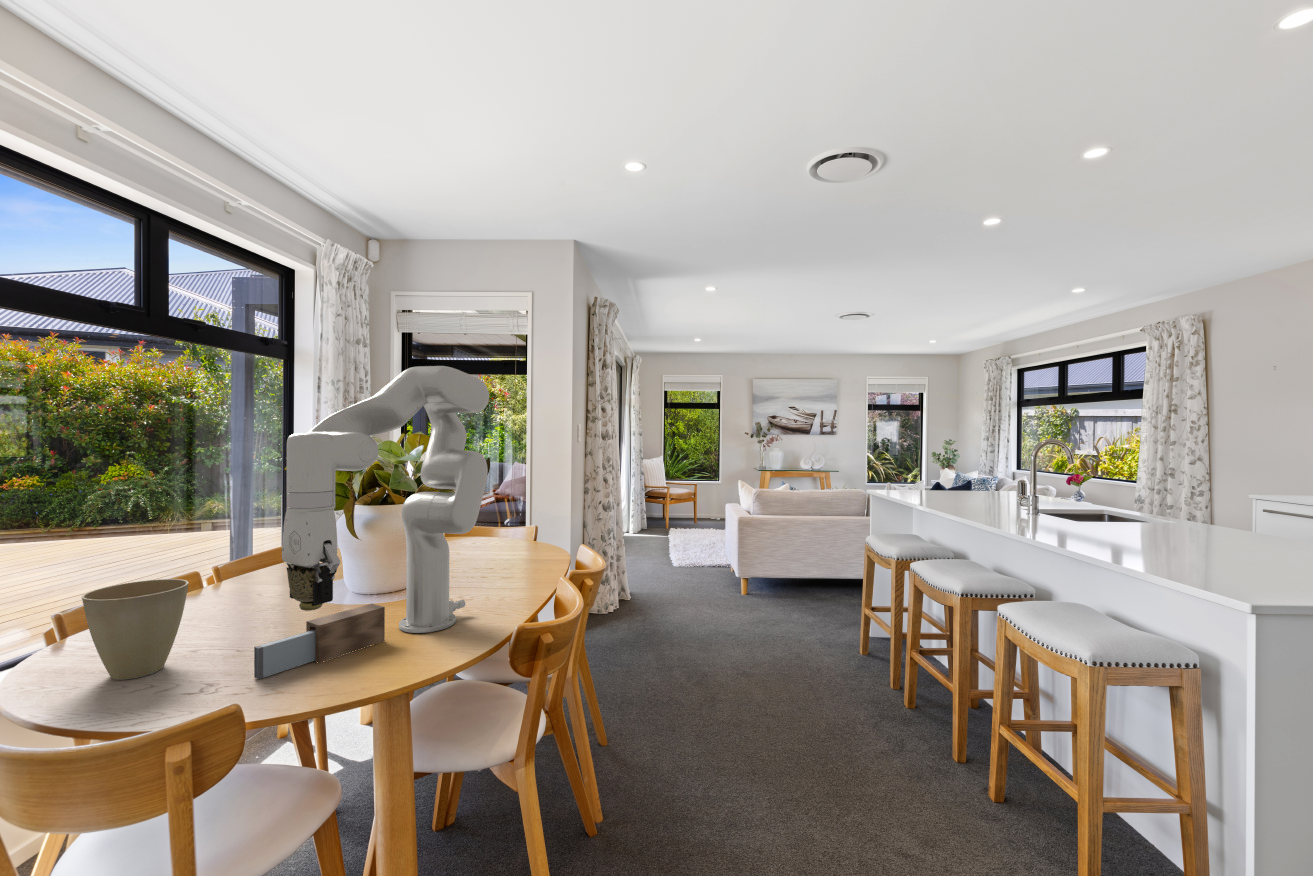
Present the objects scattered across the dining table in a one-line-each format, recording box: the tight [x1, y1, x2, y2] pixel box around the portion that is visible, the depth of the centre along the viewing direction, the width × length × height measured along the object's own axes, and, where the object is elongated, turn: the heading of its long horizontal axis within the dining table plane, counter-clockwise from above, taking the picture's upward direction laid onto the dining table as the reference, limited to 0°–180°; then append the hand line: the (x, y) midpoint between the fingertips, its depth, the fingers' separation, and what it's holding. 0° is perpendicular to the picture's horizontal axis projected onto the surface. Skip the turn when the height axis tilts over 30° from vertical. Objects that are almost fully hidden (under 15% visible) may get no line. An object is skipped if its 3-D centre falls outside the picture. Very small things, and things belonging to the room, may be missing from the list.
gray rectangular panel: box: [253, 629, 316, 680], centre depth 110 cm, size 14×2×6 cm, turn 149°
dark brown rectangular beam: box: [305, 603, 386, 664], centre depth 118 cm, size 14×5×8 cm, turn 149°
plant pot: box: [81, 578, 189, 681], centre depth 107 cm, size 15×15×16 cm
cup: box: [286, 562, 327, 612], centre depth 102 cm, size 8×7×8 cm
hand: (311, 598), depth 102 cm, fingers closed on cup, 6 cm apart
